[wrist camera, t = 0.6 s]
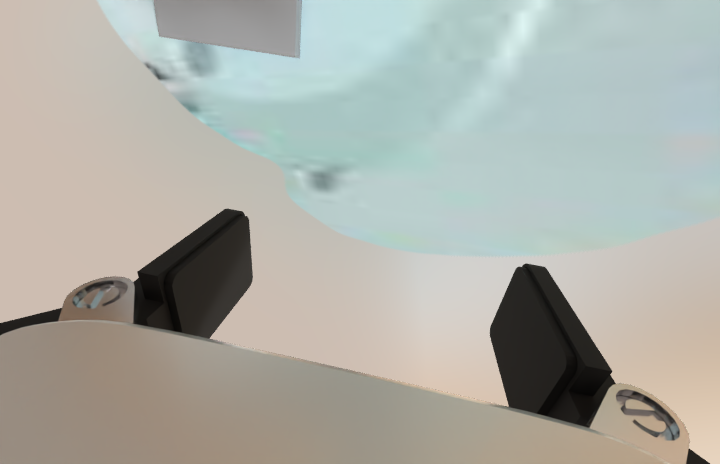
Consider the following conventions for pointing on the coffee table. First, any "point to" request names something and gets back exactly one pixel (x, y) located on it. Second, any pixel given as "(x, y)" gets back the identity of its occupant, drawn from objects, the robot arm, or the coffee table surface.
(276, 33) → the board
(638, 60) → the coffee table surface
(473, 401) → the robot arm
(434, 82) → the coffee table surface
